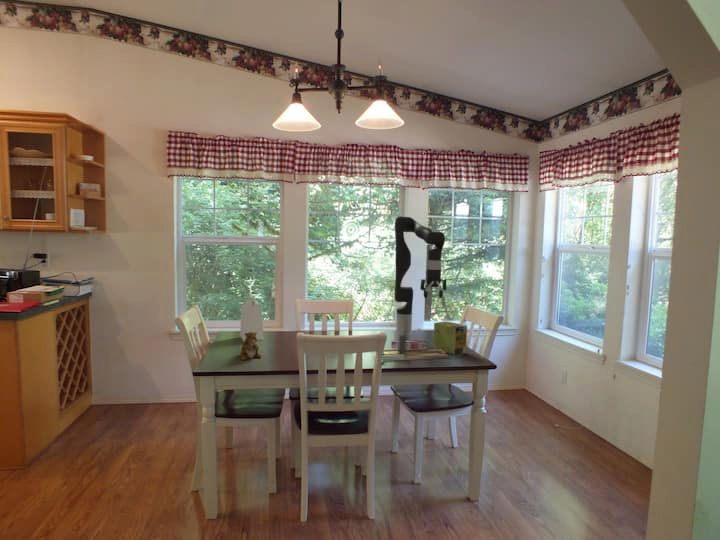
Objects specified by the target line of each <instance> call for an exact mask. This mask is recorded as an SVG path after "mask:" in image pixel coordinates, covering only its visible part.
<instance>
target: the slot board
mask: <svg viewBox="0 0 720 540" xmlns="http://www.w3.org/2000/svg"><path fill="white" fill-rule="evenodd" d="M433 359H449V354H447V352H445V351H443V350H442V349H434V348H432V349H427V350H412V351H405V356H404V360H403V361H413V360H414V361H415V360H433Z"/></svg>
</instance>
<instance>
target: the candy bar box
mask: <svg viewBox="0 0 720 540" xmlns="http://www.w3.org/2000/svg"><path fill="white" fill-rule="evenodd" d="M391 349H398V341H396V340H395V341H393V340H392V341H391ZM412 350H428V341H427V340H417V339H416V340H415V339H414V340H413V339H411V340H410V341H405V351H412Z"/></svg>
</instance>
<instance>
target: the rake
mask: <svg viewBox="0 0 720 540" xmlns="http://www.w3.org/2000/svg"><path fill="white" fill-rule="evenodd" d="M405 341H406V336H405V335H398V352H399V353H400V355H401V354H404V355H405Z"/></svg>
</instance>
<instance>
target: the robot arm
mask: <svg viewBox="0 0 720 540" xmlns="http://www.w3.org/2000/svg"><path fill="white" fill-rule="evenodd" d="M404 233H413V234H415V236H416V237H417V238H419V239H421V240H422V241H424V243H426V244H427V245H430V246H433V245H434V247H433V248H431V249H429V250H428V251H427V265H426V266H427V267H426V279H425V278H421V280H420V288H419V289H420V290H421V291H423V298H424V299H427V298H428V290H429V289H430V288H434V287H435V288H437V289H438V290H439V291H438V298H439V299H441V298H442V297H443V296H444V291H446V290H447V279H446V278H441V277H442V251H443V249H444V246H445V242H446V237H445V234H444V233H443V232H442V231H433V230H432V229H431V228H429V227H426V226H424V225H422V224H421V223H419V222H418V221H416V219H414V218H412V217H410V216H402V215H399V216H397V217H396V218H395V220H394V235H395V236H394V237H395V281H394V300H395V302H397V303H405V304H404V305H402V306H399V307H398V308H396V320H395V321H396V324H395V341H398V335H405V336H406V341H410V340H412V330H413V329H412V324H413V322H412V321H413V300H414V289H413V287H411V286H401V285H402V281H403V279H404V277H405V275H406V274H407V272H408V271H409V269H410V267H411V265H412V254H411V251H410V248H409V247H408V245H407V242H406V241H405V235H404ZM426 283H427V284H426ZM441 283H442V286H441Z"/></svg>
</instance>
